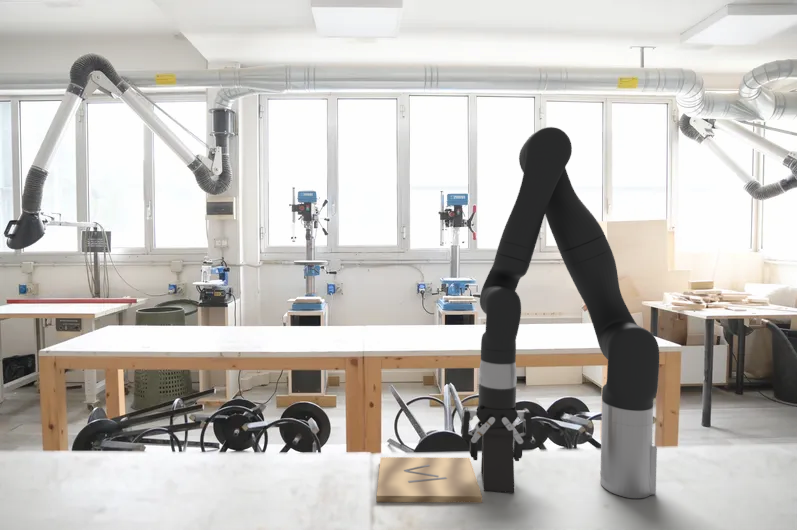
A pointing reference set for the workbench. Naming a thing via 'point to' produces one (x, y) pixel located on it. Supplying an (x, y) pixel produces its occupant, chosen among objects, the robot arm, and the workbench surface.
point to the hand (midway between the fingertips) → (495, 459)
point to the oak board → (427, 480)
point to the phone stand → (497, 460)
